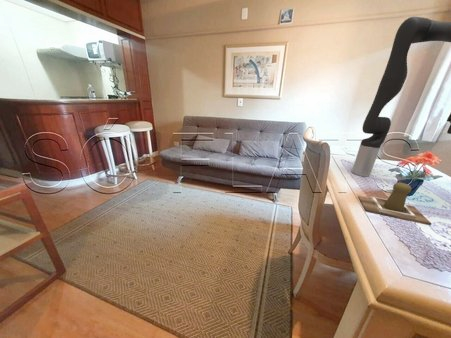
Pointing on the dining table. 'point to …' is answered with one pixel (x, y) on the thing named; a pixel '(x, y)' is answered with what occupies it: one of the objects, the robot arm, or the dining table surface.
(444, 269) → the dining table surface
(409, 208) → the board
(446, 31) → the robot arm
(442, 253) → the dining table surface
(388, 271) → the dining table surface
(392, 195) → the olive game pawn
